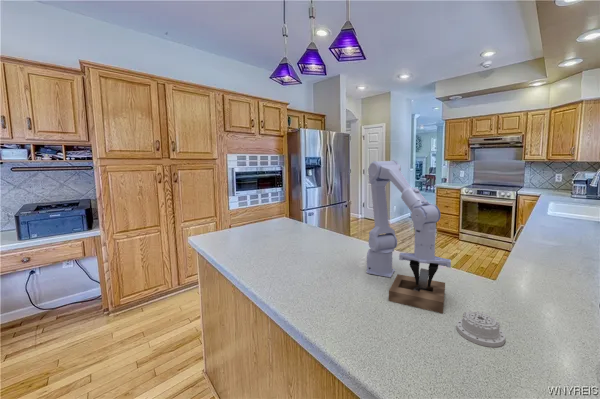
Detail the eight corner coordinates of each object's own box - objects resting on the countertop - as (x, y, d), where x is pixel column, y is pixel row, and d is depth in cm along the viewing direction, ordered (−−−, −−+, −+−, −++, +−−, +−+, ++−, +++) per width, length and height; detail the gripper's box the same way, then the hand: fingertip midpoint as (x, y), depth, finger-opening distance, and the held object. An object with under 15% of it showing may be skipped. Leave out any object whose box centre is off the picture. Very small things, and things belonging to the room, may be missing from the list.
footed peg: (411, 297, 82) (415, 271, 81) (413, 290, 87) (417, 265, 85) (429, 302, 80) (432, 275, 78) (430, 295, 84) (434, 269, 83)
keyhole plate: (388, 300, 82) (388, 290, 81) (397, 283, 93) (397, 274, 93) (442, 313, 74) (443, 302, 73) (444, 292, 86) (445, 282, 85)
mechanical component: (506, 332, 65) (460, 318, 72) (507, 316, 65) (461, 303, 71) (503, 354, 58) (452, 336, 65) (504, 336, 57) (453, 320, 64)
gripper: (397, 243, 81) (397, 284, 83) (451, 250, 73) (449, 295, 75) (401, 238, 87) (401, 276, 89) (451, 243, 79) (449, 285, 81)
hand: (423, 284), depth 82 cm, fingers closed on footed peg, 3 cm apart
